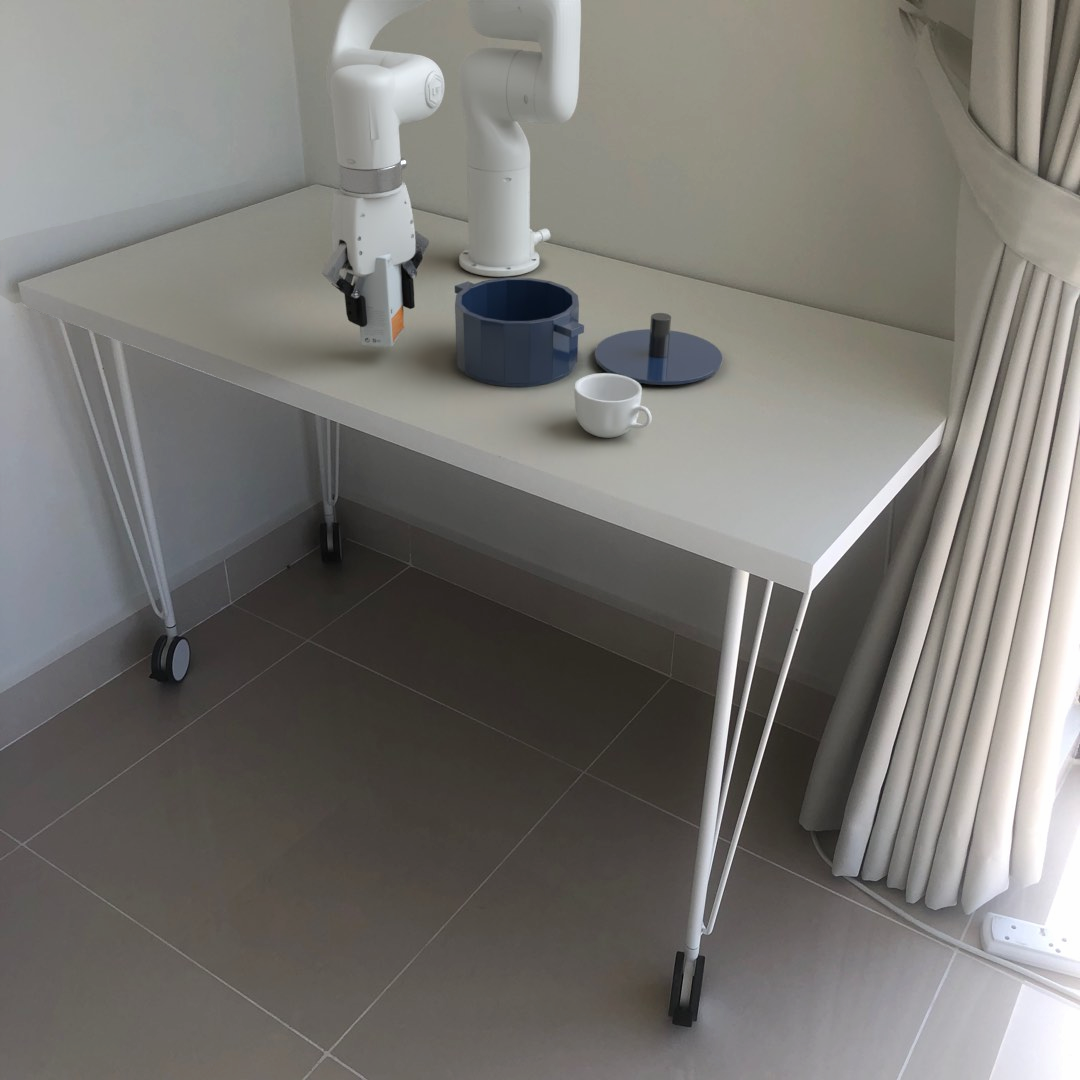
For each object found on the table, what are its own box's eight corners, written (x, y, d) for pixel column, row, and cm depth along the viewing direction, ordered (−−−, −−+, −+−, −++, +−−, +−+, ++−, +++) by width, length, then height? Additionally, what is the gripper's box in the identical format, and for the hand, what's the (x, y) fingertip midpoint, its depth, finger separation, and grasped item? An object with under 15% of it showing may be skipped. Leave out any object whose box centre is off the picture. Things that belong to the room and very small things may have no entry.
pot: (503, 322, 163) (503, 264, 159) (616, 367, 151) (619, 305, 147) (419, 354, 154) (415, 293, 149) (532, 405, 142) (533, 340, 137)
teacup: (559, 430, 136) (560, 388, 133) (598, 408, 141) (600, 367, 138) (629, 457, 131) (632, 414, 128) (667, 433, 136) (671, 391, 133)
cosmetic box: (392, 348, 149) (385, 258, 142) (360, 345, 150) (352, 256, 143) (406, 329, 154) (400, 241, 147) (375, 326, 155) (368, 239, 148)
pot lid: (649, 326, 163) (652, 283, 159) (747, 362, 153) (752, 316, 150) (568, 361, 153) (569, 316, 149) (667, 401, 143) (671, 354, 140)
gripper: (405, 155, 147) (414, 288, 157) (292, 185, 137) (309, 326, 147) (445, 167, 143) (451, 303, 153) (331, 200, 133) (346, 343, 143)
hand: (381, 313), depth 150 cm, fingers closed on cosmetic box, 7 cm apart
